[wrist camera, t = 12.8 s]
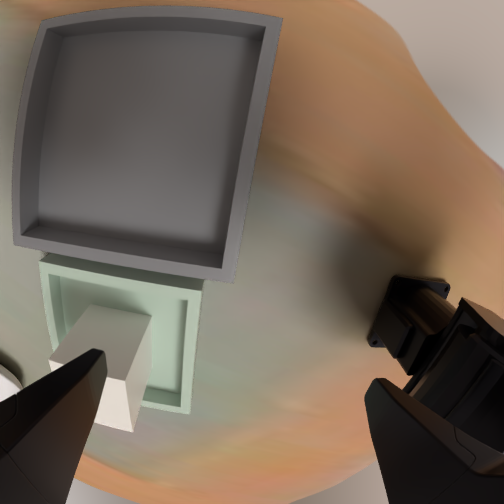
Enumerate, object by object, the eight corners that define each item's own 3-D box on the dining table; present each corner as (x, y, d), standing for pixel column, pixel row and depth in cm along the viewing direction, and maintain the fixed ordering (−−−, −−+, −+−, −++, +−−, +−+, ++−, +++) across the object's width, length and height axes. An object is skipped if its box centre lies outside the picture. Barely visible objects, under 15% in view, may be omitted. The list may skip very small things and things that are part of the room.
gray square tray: (275, 35, 15) (282, 18, 12) (233, 264, 20) (233, 283, 17) (61, 31, 14) (41, 20, 11) (35, 232, 19) (13, 244, 16)
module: (152, 315, 21) (125, 381, 14) (152, 366, 22) (132, 432, 16) (90, 303, 20) (48, 359, 13) (96, 354, 22) (65, 413, 15)
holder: (204, 276, 20) (201, 291, 18) (192, 396, 24) (189, 414, 22) (53, 250, 19) (38, 261, 17) (70, 369, 23) (62, 384, 21)
